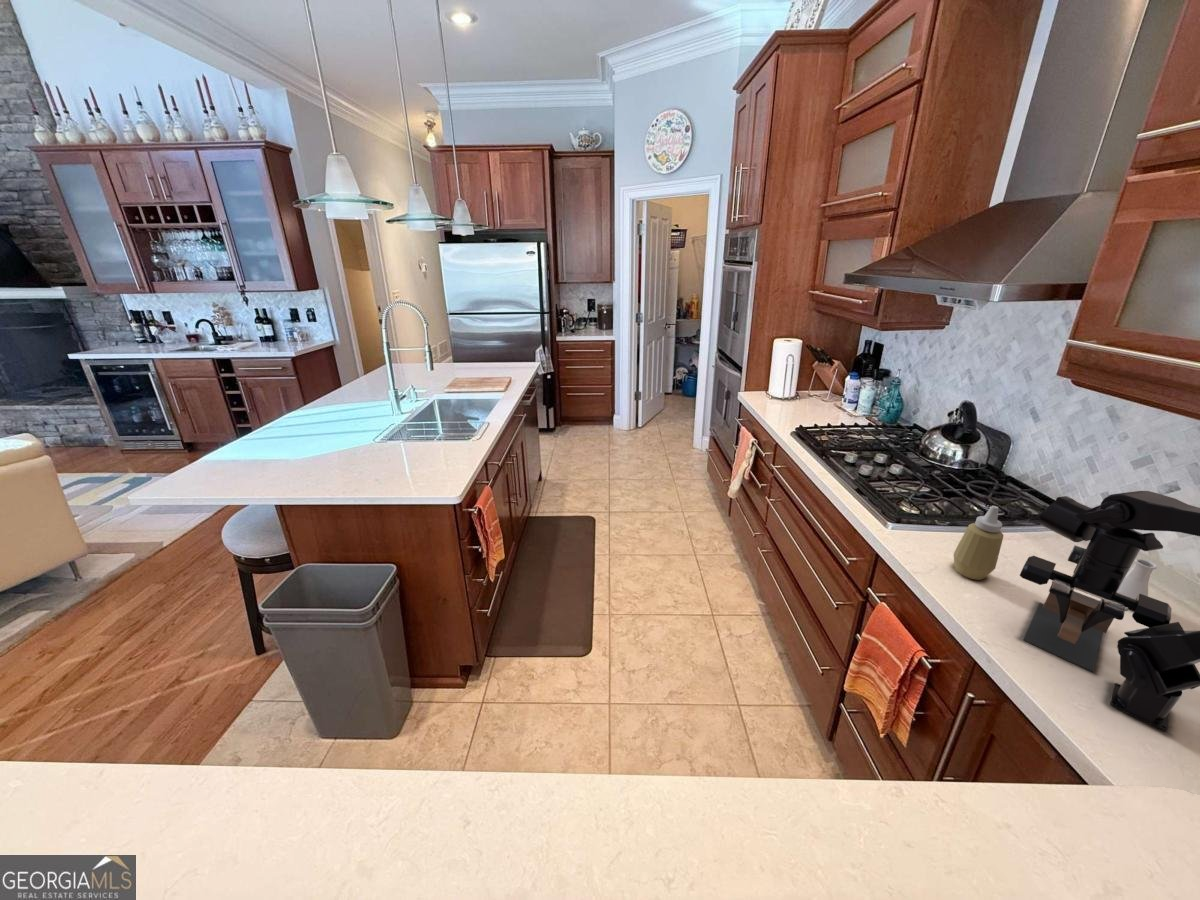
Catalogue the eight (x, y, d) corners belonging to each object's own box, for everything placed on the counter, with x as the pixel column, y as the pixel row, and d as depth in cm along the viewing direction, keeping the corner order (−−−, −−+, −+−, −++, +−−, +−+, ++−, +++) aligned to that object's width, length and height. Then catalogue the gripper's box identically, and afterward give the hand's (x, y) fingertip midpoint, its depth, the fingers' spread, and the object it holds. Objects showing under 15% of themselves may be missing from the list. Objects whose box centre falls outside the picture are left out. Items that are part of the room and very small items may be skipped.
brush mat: (1092, 672, 86) (1093, 671, 86) (1022, 640, 93) (1023, 638, 93) (1103, 630, 95) (1103, 628, 95) (1039, 603, 102) (1039, 602, 102)
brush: (1100, 655, 83) (1110, 638, 81) (1034, 626, 89) (1042, 610, 87) (1108, 621, 90) (1117, 605, 89) (1046, 597, 96) (1054, 581, 95)
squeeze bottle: (955, 557, 117) (979, 494, 110) (995, 574, 111) (1023, 508, 104) (943, 570, 112) (967, 505, 105) (984, 588, 107) (1012, 520, 99)
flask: (1110, 585, 108) (1130, 549, 104) (1155, 605, 102) (1178, 568, 98) (1095, 594, 105) (1115, 557, 101) (1140, 615, 99) (1163, 577, 95)
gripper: (1190, 564, 80) (1147, 634, 86) (1046, 519, 93) (1018, 583, 99) (1189, 592, 73) (1143, 666, 79) (1034, 540, 86) (1005, 606, 92)
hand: (1071, 626), depth 88 cm, fingers closed on brush, 2 cm apart
